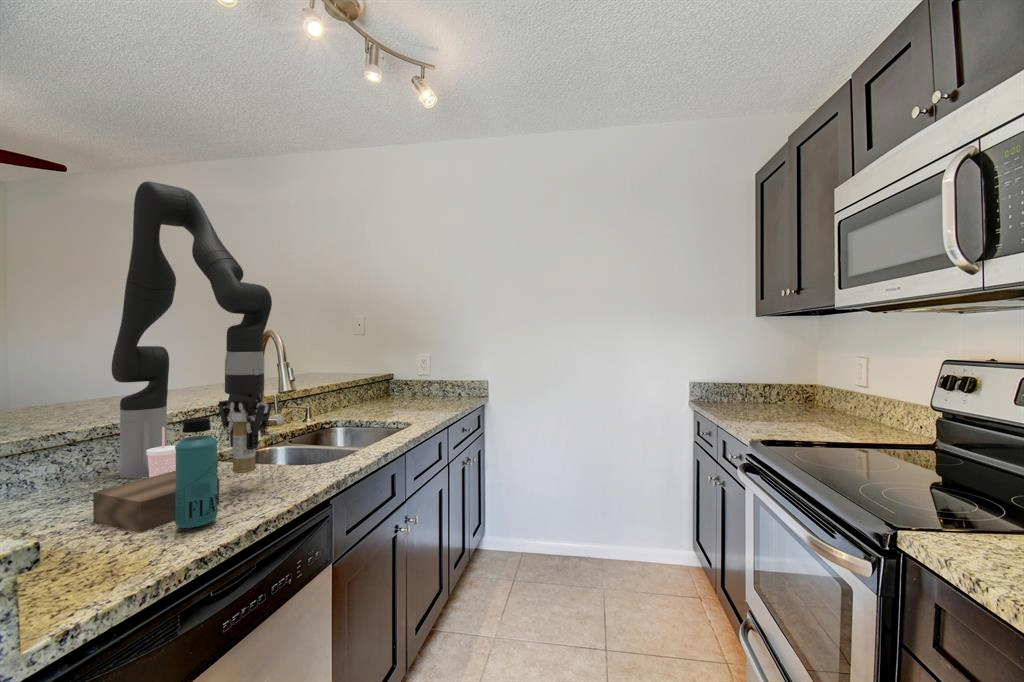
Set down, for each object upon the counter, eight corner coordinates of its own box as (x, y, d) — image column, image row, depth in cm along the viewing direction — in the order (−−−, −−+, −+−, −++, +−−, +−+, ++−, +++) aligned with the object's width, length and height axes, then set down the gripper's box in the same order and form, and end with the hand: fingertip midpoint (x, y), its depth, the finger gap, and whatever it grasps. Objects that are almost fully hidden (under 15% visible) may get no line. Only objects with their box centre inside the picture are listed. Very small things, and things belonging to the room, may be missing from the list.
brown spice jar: (254, 466, 99) (254, 409, 99) (257, 471, 95) (258, 411, 95) (230, 470, 96) (231, 411, 96) (233, 475, 93) (233, 414, 92)
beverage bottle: (183, 540, 73) (183, 423, 73) (167, 531, 76) (167, 419, 76) (225, 526, 78) (225, 418, 78) (208, 518, 82) (208, 414, 82)
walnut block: (93, 524, 80) (93, 492, 80) (174, 498, 93) (174, 470, 93) (141, 536, 75) (141, 502, 75) (219, 507, 88) (219, 478, 88)
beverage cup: (153, 484, 101) (153, 425, 101) (184, 481, 103) (184, 423, 103) (140, 493, 95) (140, 430, 95) (173, 490, 97) (173, 428, 97)
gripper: (206, 371, 95) (205, 448, 95) (252, 374, 90) (252, 455, 90) (238, 369, 102) (237, 440, 102) (283, 371, 97) (282, 447, 97)
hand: (244, 447), depth 96 cm, fingers closed on brown spice jar, 4 cm apart
